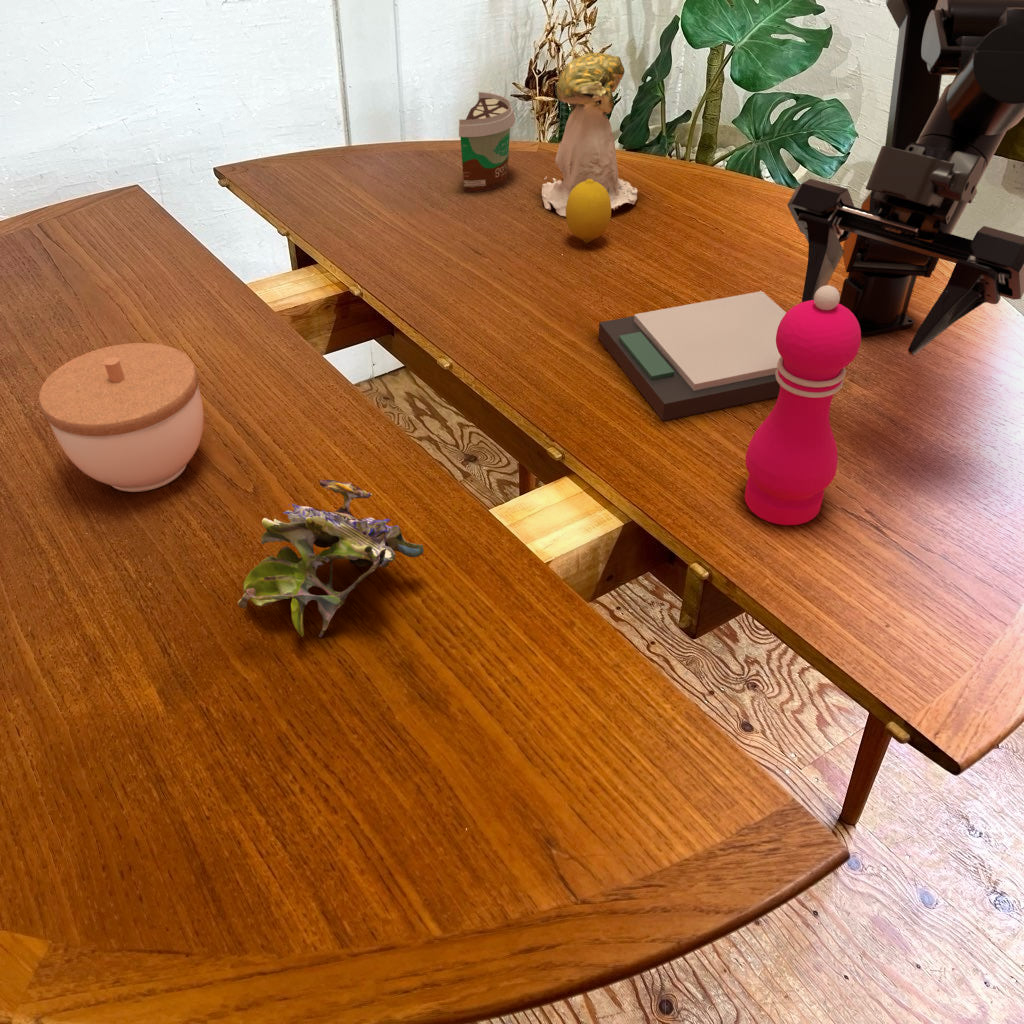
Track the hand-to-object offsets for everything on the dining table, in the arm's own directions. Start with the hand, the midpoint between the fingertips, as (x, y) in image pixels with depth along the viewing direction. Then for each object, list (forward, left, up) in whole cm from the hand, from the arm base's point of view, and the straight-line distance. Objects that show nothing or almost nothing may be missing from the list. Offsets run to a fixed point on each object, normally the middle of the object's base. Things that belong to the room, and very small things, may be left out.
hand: (855, 333), depth 76 cm
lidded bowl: (+57, -20, -13) cm, 62 cm away
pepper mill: (+6, +3, -13) cm, 15 cm away
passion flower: (+44, +2, -13) cm, 46 cm away
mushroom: (-2, -61, -13) cm, 62 cm away
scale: (+1, -19, -13) cm, 23 cm away
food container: (+8, -72, -13) cm, 73 cm away
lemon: (+3, -49, -13) cm, 50 cm away
